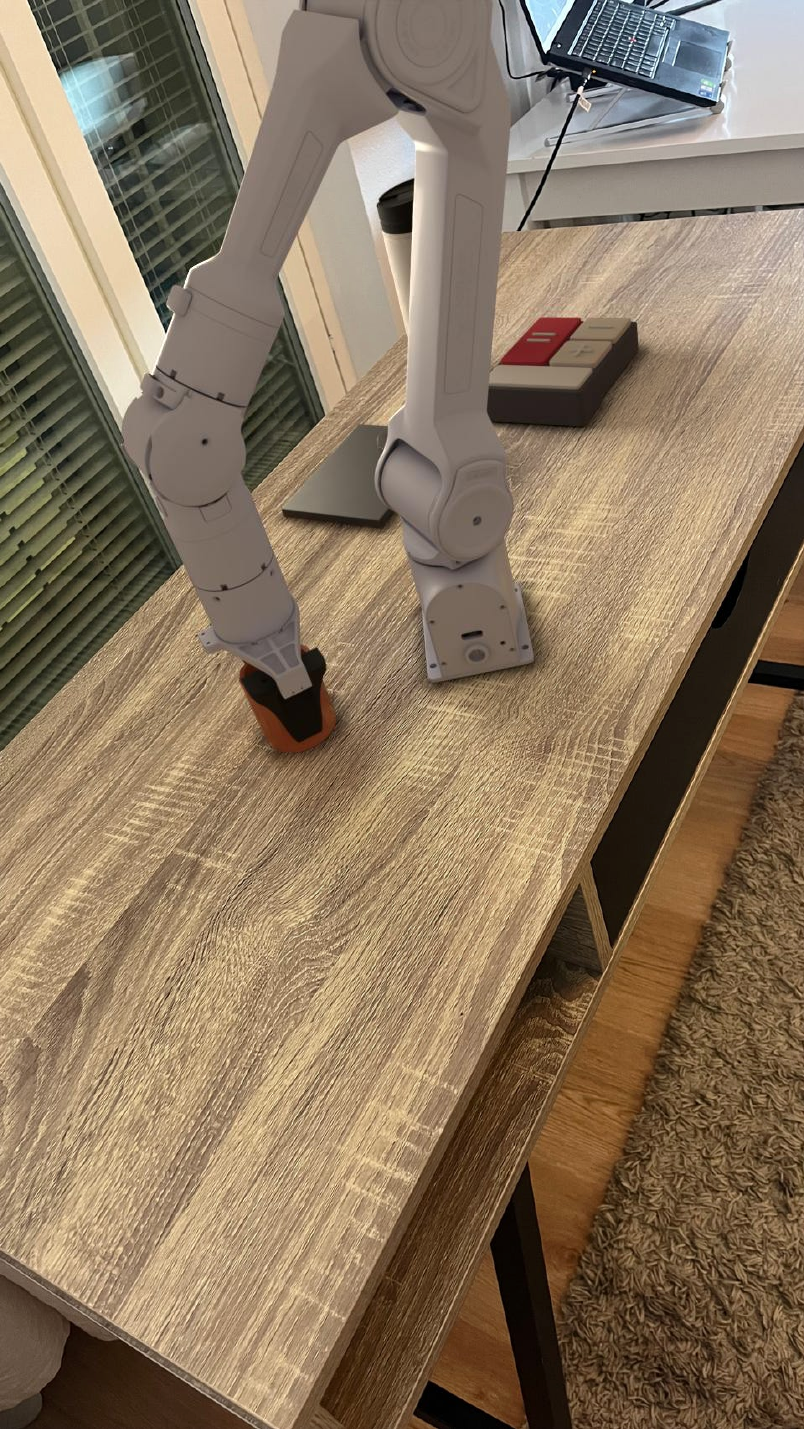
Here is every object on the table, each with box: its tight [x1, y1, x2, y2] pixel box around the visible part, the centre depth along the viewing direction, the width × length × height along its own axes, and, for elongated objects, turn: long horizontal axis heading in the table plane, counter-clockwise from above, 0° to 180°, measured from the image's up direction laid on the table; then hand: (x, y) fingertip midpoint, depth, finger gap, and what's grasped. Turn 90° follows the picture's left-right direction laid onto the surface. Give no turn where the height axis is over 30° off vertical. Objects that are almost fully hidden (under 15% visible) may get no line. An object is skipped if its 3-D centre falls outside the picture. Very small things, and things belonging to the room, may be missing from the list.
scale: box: [281, 423, 395, 529], centre depth 103 cm, size 15×12×2 cm
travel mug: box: [376, 177, 415, 338], centre depth 107 cm, size 6×7×20 cm
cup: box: [238, 643, 337, 754], centre depth 78 cm, size 6×6×6 cm
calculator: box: [487, 316, 640, 427], centre depth 106 cm, size 11×4×15 cm
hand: (294, 710), depth 79 cm, fingers closed on cup, 5 cm apart
